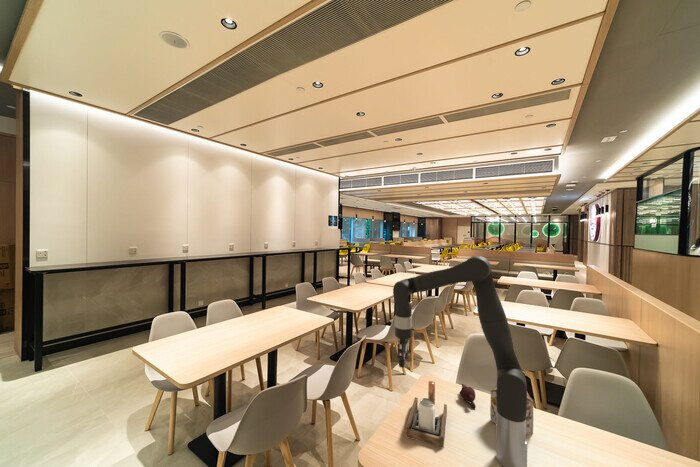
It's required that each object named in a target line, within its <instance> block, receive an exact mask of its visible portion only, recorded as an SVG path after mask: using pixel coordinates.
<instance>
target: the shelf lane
mask: <svg viewBox="0 0 700 467" xmlns="http://www.w3.org/2000/svg"><path fill="white" fill-rule="evenodd" d="M447 405H448V404H445V403H444V404H443V409H442V410H443V411H442V418H441V426H440V434H439V436H435V435H432V434H428V433H424V432H421V431H417V430H414V429H412V424H413V421H414V417H415V413H416V412H417V409H418V406H419V402H418V397H414V399H413V403H412V406H411V410H410V413H409V416H408V419H407V423H406V425H405V437H406V438H409V439H412V440H416V441H419V442H422V443H426V444H429V445H431V446H436V447H439V448H442V449H444V446H445V436H446V428H447V426H446V424H447V416H448V415H447V414H448V407H447Z"/></svg>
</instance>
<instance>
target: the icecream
mask: <svg viewBox="0 0 700 467" xmlns="http://www.w3.org/2000/svg"><path fill="white" fill-rule="evenodd" d="M459 395H460V397H461V398H462V399H463V401H465V402H467V403H470V405H471V408H472V409H476V404H475V402H474V401H475V400H476V391H475V389H474V388H473V387H472V386H467V385H465V384H464V383H462V384H461V390H460V391H459Z"/></svg>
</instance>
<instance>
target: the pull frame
mask: <svg viewBox="0 0 700 467" xmlns="http://www.w3.org/2000/svg"><path fill="white" fill-rule="evenodd" d="M427 387H428V388H427V389H428V390H427V391H428V392H427V393H428V394H427V395H428V396H427V397H428V399H430V400H432V401H433V402H434V406H435V405H436V402H435V401H436V382H435V381H432V380H429V381H428V386H427ZM418 423H419V411H416V413H415V417H414V421H413V424H412V428H411V429H414V430H417V431H421V432H424V433H428V434H432V435H435V436H439V437H440V435H441V426H442V418H441V417H438V416H435V427H436V431H435V432H434V431H431V430H427V429H423V428H420V427H418V426H417V425H418Z"/></svg>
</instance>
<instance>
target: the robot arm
mask: <svg viewBox="0 0 700 467" xmlns="http://www.w3.org/2000/svg"><path fill="white" fill-rule="evenodd" d="M465 282H467V283H468V282H472V285H473V288H474V290H475V291H474V292H475V297H476V307H477V314H478V318H479V323H480V327H481V329H482V332H483V335H484V337H485V339H486V341H487V343H488V345H489V347H490V349H491V350H492V353H493V357H494V360H495V361H494V362H495V366H496V373H497V374H496V375H497V376H496V385H497V402H496V403H497V422H496V424H495V428H496V429H495V431H496V433H495V434H496V435H495V438H496V439H495V453H496V454H495V457H496V460H497V461H498V463H499V464H500V465H501V466H502V467H528V442H527V435H526V413H527V393H528V386H527V380H526V376H525V374H524V371H523V369H522V368H521V365H520V362H519V360H518V358H517V354H516V352H515V348H514V342H513V338H512V333H511V329H510V324H509V322H508V318H507V316H506V313H505V310H504V308H503V303H501V300H500V299H501V298H499V294H498V292H497V289H496V287H495V282H494V277H493V272H492V265H491V263H490V261H489V260H488V259H487V258H486V257H485V256H482V255H473V256H471V257H469V258H468V259H467V260H465V261H463V262H461V263H459V264H457V265H456V264H455V265H454V266H452V267H449V268H445V269H439V270H435V271H434V270H433V271H430V272H426V273H422V274H419V275H416V276H414V277H409V278H405V279H402V280H399V281H397V282H395V283H394V285H393V288H392V289H393V290H392V294H393V295H392V296H393V299H394V304H395V317H394V336H395V337H396V338H397V339H399V341H397V359H398V367H399V368H405V360H408V358H409V356H408V355H409V349H410V339H412V337H413V318H412V317H413V316H412V315H413V314H412V310H413V309H412V303H411V302H410V300H409V299H410V298H409V296H410V295H412V294H416V293H423V292H427V291H432V290H434V289H435V290H436V289H439V288H441V287H442V288H443V287H446V286H449V285H450V286H451V285H453V284H458V283H460V284H461V283H465Z"/></svg>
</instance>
